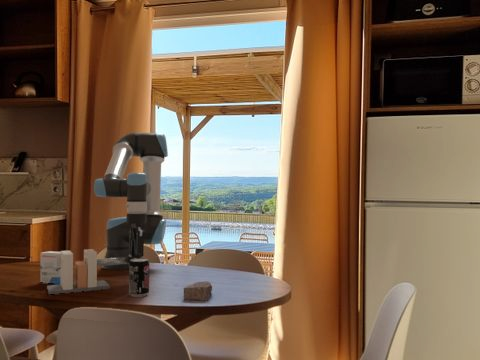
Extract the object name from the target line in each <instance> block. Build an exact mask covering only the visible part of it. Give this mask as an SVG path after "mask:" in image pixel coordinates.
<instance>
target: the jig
mask: <svg viewBox="0 0 480 360" xmlns="http://www.w3.org/2000/svg"><path fill="white" fill-rule="evenodd" d="M60 252H61V279H60V284H50V285H46V291H47V290H48V291H47V294H48V296H51V295H50V294H55V295H60V294H59V293H65V294H71V293H70V292H74V293H83V292H82V291H84V292H92V290H93V291H100V290H101V289H103V290H110V284H109V283H108V282H106V281H105V280H104V279H103V280H98V279H97V278H98V277H97V276H98V266H97V259H98V252H97V251H96V250H95V249H93V248H91V249H83V261H84V262H85V263H86V264H87V287H83V288H77V286H76V285H75V282H74V253H73V252H72V251H71V250H60Z"/></svg>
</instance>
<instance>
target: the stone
mask: <svg viewBox="0 0 480 360" xmlns="http://www.w3.org/2000/svg"><path fill="white" fill-rule="evenodd" d="M212 291H213V285H212V283H211V281H196V282H194V283H191V284H189V285H186V286H184V288H183V297H184V298H185V299H186V300H188V301H189V300H196V301H197V300H198V301H207V300H208V298H209V297H210V295H211V294H212Z"/></svg>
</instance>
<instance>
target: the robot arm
mask: <svg viewBox="0 0 480 360" xmlns="http://www.w3.org/2000/svg"><path fill="white" fill-rule="evenodd" d="M167 144H168V143H167V138H166V135H165V134H164V133H159V132H130V133H127V134H126V135H123V136H122V137H120V138H119V139H118V140H117V141H116V142H115V143H114V145H113V147H112V156H111V158H110V160H109V162H108V166H107V168H106V170H105V173H104V176H103V178H102V177H101V178H96V179H95V180H94V184H93V192H94V195H95V196H96V197H98V198H101V197H102V198H126V204H125V207H126V212H127V214H126V216H122V217H116V218H110V219H108V220H107V223H106V252H105V254H104V257H103V259H104V258H118V257H129V254H135V256H133V258H134V259H139V258H143V257H144V254H145V253H144V251H145V250H144V249H145V248H144V245H160V244H162V243H163V241H164V238H165V235H166V226H167V220H166V219H165V218H164V216H163V213H161V185H162V183H161V182H162V181H161V180H162V179H161V177H162V164H163V163H164V162H165V158H168V156H169V154H168V145H167ZM133 157H136V158H137V157H138V158H139V160H140V161H141V163H142V172H130V173H127V175H126V177H127V178H124V175H125V172H126V169H127V167H128V163H129V160H131V159H132V158H133ZM101 268H102V269H104V270H108V271H113V270H114V271H118V270H121V271H122V270H129V264H118V265H105V266H101Z"/></svg>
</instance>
